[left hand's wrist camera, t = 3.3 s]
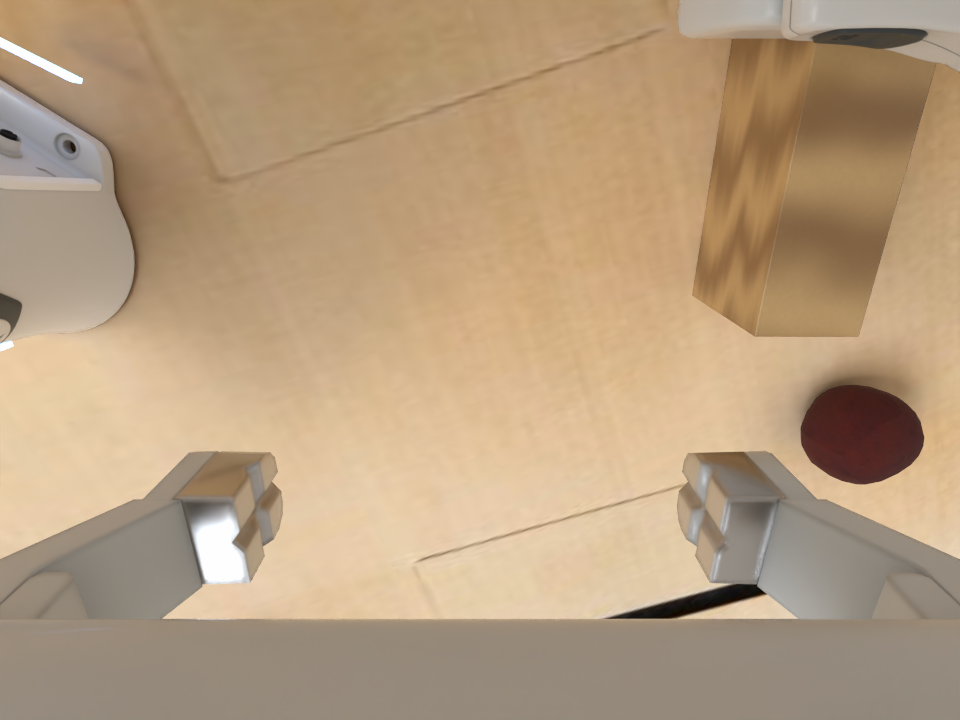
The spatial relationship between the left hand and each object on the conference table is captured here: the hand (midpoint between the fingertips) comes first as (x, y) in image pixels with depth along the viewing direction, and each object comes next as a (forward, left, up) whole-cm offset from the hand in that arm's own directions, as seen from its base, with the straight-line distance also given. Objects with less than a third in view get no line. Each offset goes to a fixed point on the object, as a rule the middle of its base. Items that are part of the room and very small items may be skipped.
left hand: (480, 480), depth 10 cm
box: (+9, +18, -30) cm, 37 cm away
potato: (+31, +11, -30) cm, 44 cm away
